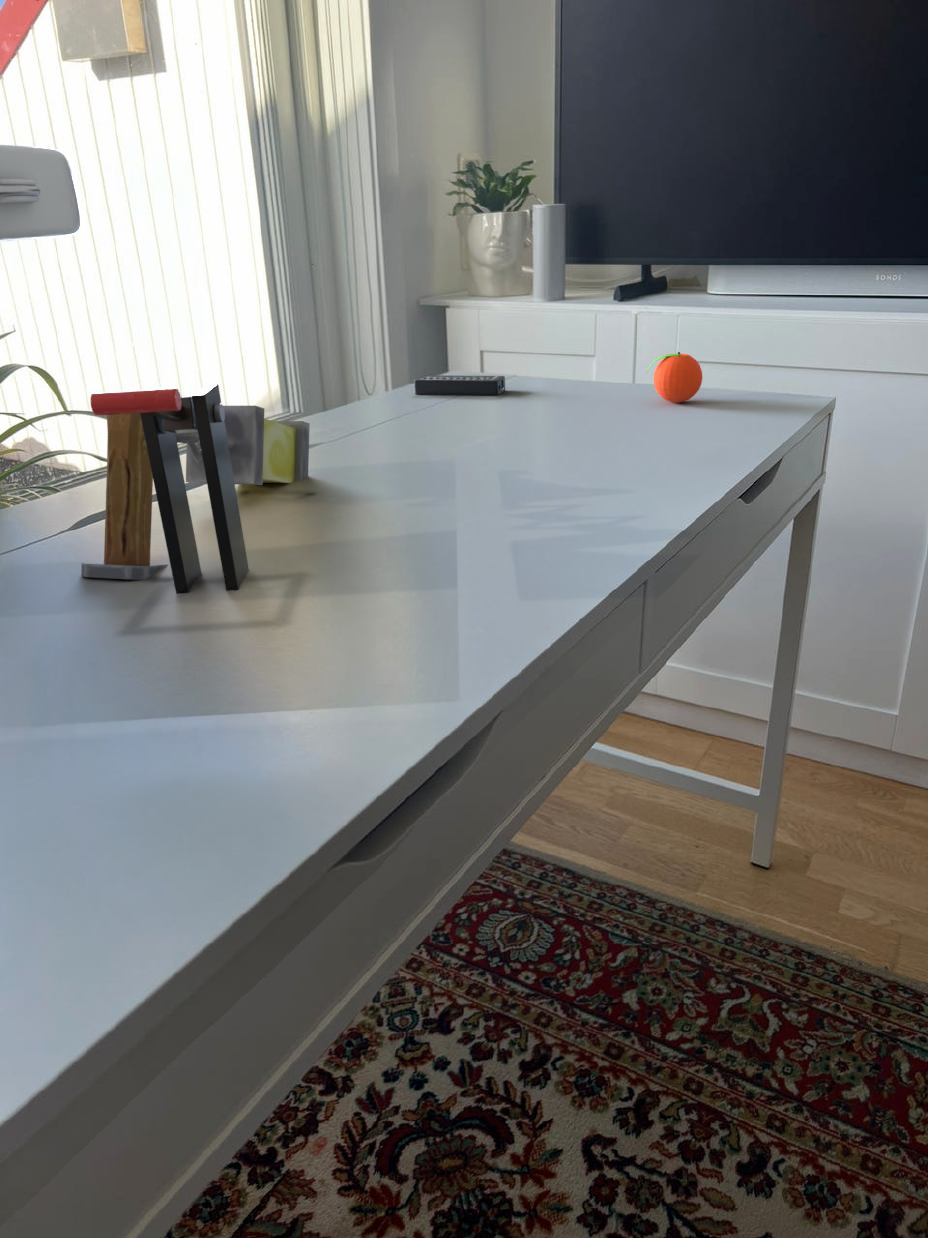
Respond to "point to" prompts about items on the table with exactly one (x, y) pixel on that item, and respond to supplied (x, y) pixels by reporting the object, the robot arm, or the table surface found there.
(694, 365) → the clementine
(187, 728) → the table surface
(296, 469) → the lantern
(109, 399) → the switch lever
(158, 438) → the switch bracket
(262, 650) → the table surface
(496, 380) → the multiport hub
